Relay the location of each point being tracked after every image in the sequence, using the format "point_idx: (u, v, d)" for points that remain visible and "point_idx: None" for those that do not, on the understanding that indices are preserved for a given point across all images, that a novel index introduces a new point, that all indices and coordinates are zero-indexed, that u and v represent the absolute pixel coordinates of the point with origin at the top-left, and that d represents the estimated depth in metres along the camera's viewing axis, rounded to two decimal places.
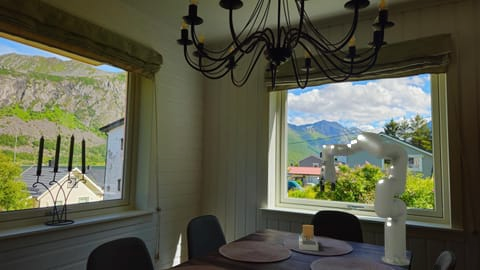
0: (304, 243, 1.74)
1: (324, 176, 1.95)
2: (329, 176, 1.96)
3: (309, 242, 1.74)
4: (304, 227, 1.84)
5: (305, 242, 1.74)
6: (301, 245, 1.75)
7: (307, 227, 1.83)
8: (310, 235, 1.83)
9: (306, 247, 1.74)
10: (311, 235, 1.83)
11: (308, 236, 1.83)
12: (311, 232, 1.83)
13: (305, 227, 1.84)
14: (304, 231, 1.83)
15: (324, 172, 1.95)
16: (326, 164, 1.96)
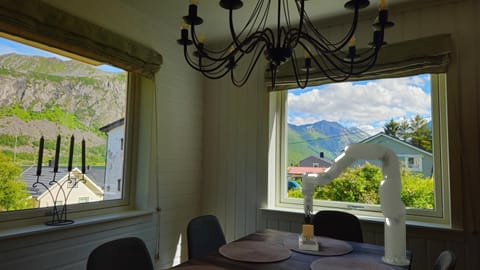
0: (304, 243, 1.74)
1: (311, 207, 1.81)
2: None
3: (309, 242, 1.74)
4: (304, 227, 1.84)
5: (305, 242, 1.74)
6: (301, 245, 1.75)
7: (307, 227, 1.83)
8: (310, 235, 1.83)
9: (306, 247, 1.74)
10: (311, 235, 1.83)
11: (308, 236, 1.83)
12: (311, 232, 1.83)
13: (305, 227, 1.84)
14: (304, 231, 1.83)
15: (311, 203, 1.81)
16: (311, 194, 1.83)
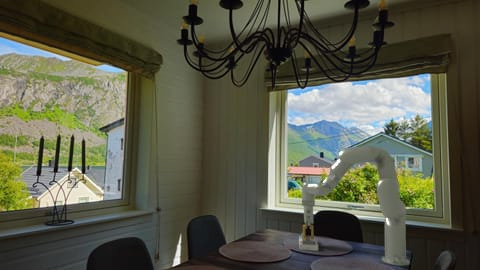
0: (304, 243, 1.74)
1: (311, 218, 1.80)
2: None
3: (309, 242, 1.74)
4: (304, 227, 1.84)
5: (305, 242, 1.74)
6: (301, 245, 1.75)
7: None
8: None
9: (306, 247, 1.74)
10: (311, 235, 1.83)
11: (308, 236, 1.83)
12: (311, 232, 1.83)
13: (305, 227, 1.84)
14: (304, 231, 1.83)
15: (311, 214, 1.80)
16: (311, 204, 1.82)
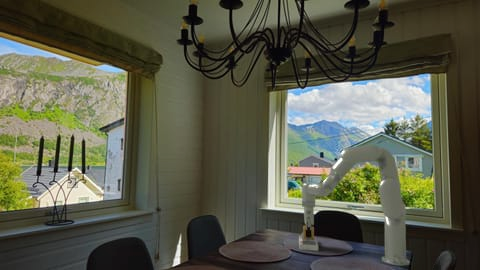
0: (304, 243, 1.74)
1: (312, 219, 1.76)
2: None
3: (309, 242, 1.74)
4: (304, 228, 1.80)
5: (305, 242, 1.74)
6: (301, 245, 1.75)
7: None
8: None
9: (306, 247, 1.74)
10: (311, 236, 1.79)
11: (308, 237, 1.79)
12: (311, 233, 1.79)
13: (305, 228, 1.80)
14: (304, 232, 1.80)
15: (312, 215, 1.77)
16: (312, 205, 1.79)
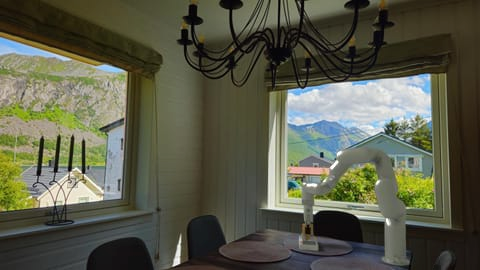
0: (304, 243, 1.74)
1: (311, 217, 1.84)
2: None
3: (309, 242, 1.74)
4: (304, 226, 1.87)
5: (305, 242, 1.74)
6: (301, 245, 1.75)
7: None
8: (310, 234, 1.86)
9: (306, 247, 1.74)
10: (311, 234, 1.86)
11: (307, 234, 1.87)
12: (311, 231, 1.86)
13: (305, 226, 1.87)
14: (304, 230, 1.87)
15: (311, 213, 1.84)
16: (311, 204, 1.86)
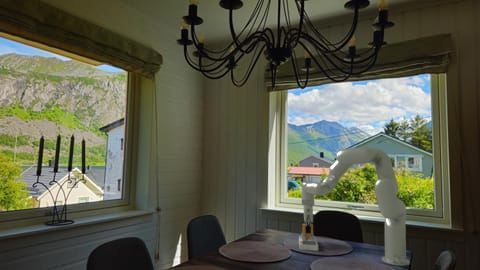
0: (304, 243, 1.74)
1: (311, 217, 1.84)
2: None
3: (309, 242, 1.74)
4: (304, 226, 1.87)
5: (305, 242, 1.74)
6: (301, 245, 1.75)
7: None
8: (310, 234, 1.86)
9: (306, 247, 1.74)
10: (311, 234, 1.86)
11: (307, 234, 1.87)
12: (311, 231, 1.86)
13: None
14: (304, 230, 1.87)
15: (311, 213, 1.84)
16: (311, 204, 1.86)
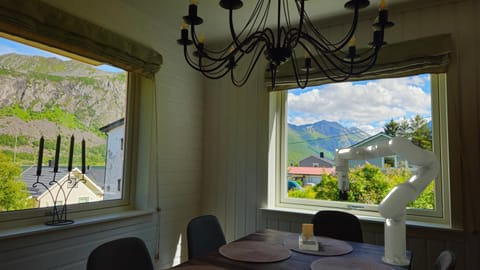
0: (304, 243, 1.74)
1: (347, 183, 1.74)
2: None
3: (309, 242, 1.74)
4: (304, 226, 1.87)
5: (305, 242, 1.74)
6: (301, 245, 1.75)
7: (307, 226, 1.87)
8: (310, 234, 1.86)
9: (306, 247, 1.74)
10: (311, 234, 1.86)
11: (307, 234, 1.87)
12: (311, 231, 1.86)
13: (305, 226, 1.87)
14: (304, 230, 1.87)
15: (347, 179, 1.75)
16: (346, 170, 1.77)
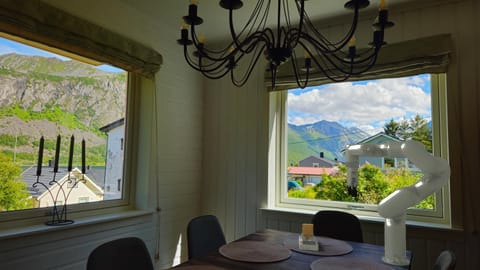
0: (304, 243, 1.74)
1: (357, 180, 1.72)
2: None
3: (309, 242, 1.74)
4: (304, 226, 1.87)
5: (305, 242, 1.74)
6: (301, 245, 1.75)
7: (307, 226, 1.87)
8: (310, 234, 1.86)
9: (306, 247, 1.74)
10: (311, 234, 1.86)
11: (307, 234, 1.87)
12: (311, 231, 1.86)
13: (305, 226, 1.87)
14: (304, 230, 1.87)
15: (357, 175, 1.72)
16: (356, 166, 1.74)
